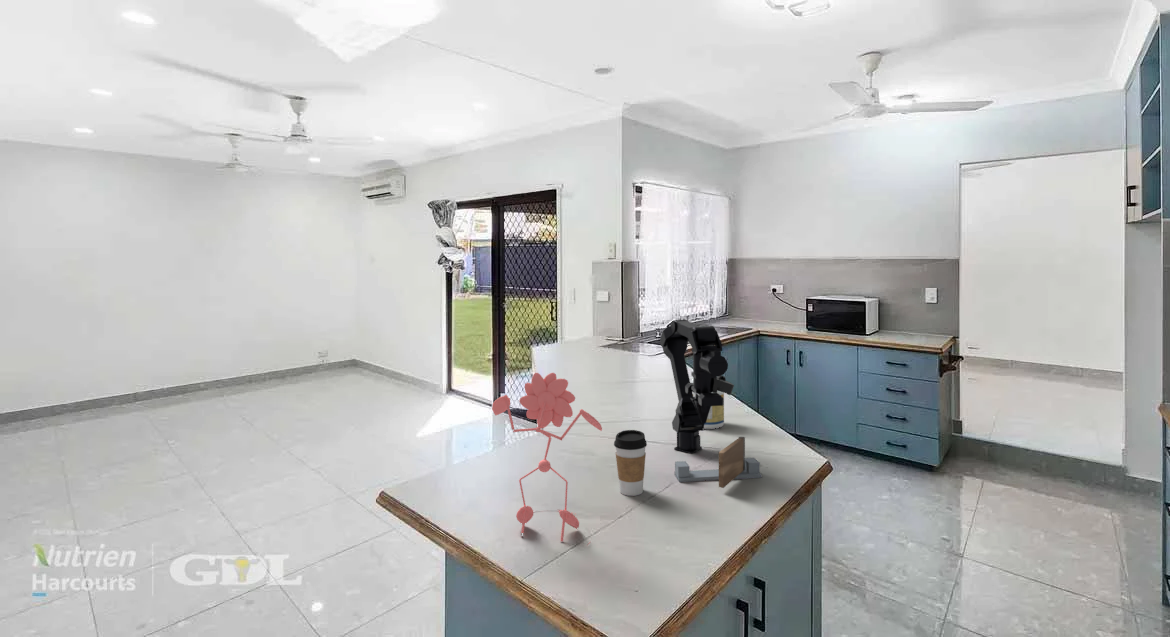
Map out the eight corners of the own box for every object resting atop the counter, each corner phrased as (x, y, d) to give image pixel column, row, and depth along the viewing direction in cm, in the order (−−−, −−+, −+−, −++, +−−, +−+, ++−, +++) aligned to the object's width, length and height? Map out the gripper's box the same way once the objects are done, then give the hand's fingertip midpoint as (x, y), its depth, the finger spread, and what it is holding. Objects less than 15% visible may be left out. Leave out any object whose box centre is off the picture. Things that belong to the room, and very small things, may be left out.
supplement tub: (688, 420, 203) (688, 375, 202) (722, 420, 201) (722, 375, 200) (690, 429, 191) (690, 382, 190) (726, 430, 189) (725, 382, 188)
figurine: (599, 548, 111) (595, 379, 109) (485, 535, 118) (479, 376, 116) (616, 517, 126) (613, 367, 124) (513, 506, 133) (508, 365, 131)
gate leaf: (718, 486, 137) (717, 452, 137) (740, 468, 150) (740, 436, 149) (724, 488, 136) (723, 453, 136) (745, 469, 149) (745, 437, 148)
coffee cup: (650, 486, 142) (649, 430, 141) (643, 499, 134) (642, 440, 133) (619, 483, 145) (618, 428, 144) (611, 495, 137) (609, 438, 136)
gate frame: (674, 475, 150) (674, 460, 150) (754, 470, 151) (754, 456, 151) (678, 482, 145) (678, 467, 145) (761, 477, 146) (761, 463, 146)
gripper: (742, 374, 147) (742, 431, 148) (720, 363, 166) (720, 413, 167) (701, 376, 146) (702, 433, 148) (684, 364, 165) (685, 415, 166)
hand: (703, 423), depth 157 cm, fingers closed
